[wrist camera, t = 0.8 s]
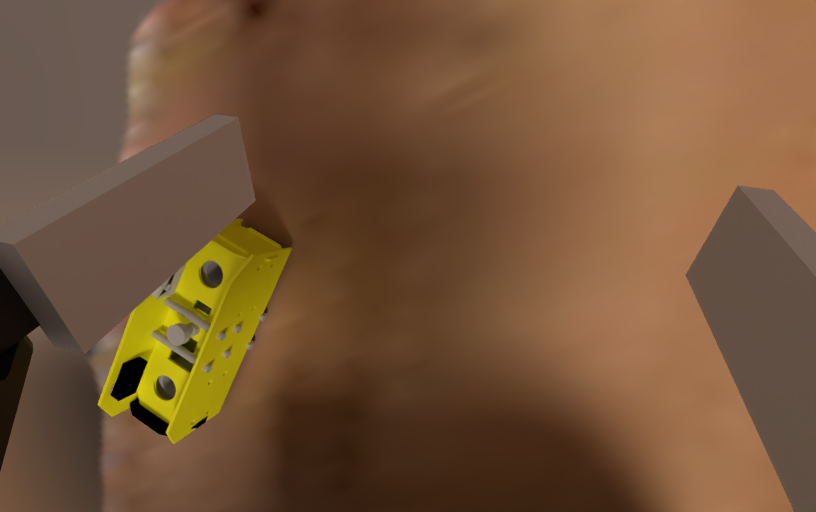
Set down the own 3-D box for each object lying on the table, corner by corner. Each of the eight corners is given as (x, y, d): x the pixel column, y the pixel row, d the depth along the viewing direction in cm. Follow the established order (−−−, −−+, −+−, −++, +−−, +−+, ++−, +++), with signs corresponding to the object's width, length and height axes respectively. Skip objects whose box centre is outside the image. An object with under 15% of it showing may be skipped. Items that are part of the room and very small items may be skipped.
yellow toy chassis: (242, 215, 34) (158, 217, 25) (300, 249, 33) (232, 262, 25) (177, 375, 37) (84, 422, 29) (228, 409, 36) (147, 467, 28)
